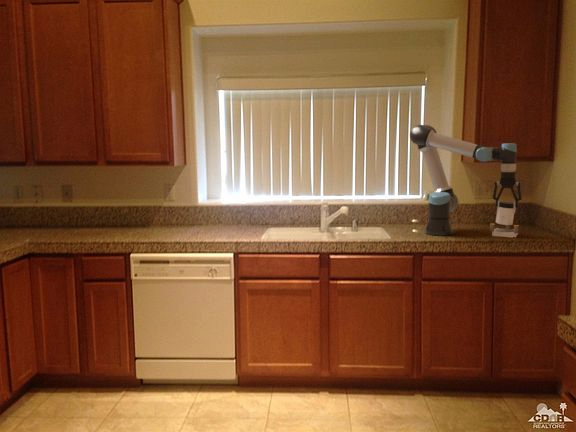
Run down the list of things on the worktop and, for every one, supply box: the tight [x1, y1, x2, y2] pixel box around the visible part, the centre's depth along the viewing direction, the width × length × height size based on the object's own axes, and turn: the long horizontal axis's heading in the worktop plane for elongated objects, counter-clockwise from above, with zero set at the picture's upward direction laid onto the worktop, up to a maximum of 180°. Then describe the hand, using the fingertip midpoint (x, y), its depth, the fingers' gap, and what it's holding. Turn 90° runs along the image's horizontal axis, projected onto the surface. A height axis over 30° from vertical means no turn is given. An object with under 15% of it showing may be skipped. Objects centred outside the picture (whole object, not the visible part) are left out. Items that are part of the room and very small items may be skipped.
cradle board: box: [489, 223, 520, 238], centre depth 284 cm, size 15×16×7 cm
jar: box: [495, 201, 515, 226], centre depth 282 cm, size 9×8×12 cm
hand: (506, 212), depth 282 cm, fingers closed on jar, 7 cm apart
